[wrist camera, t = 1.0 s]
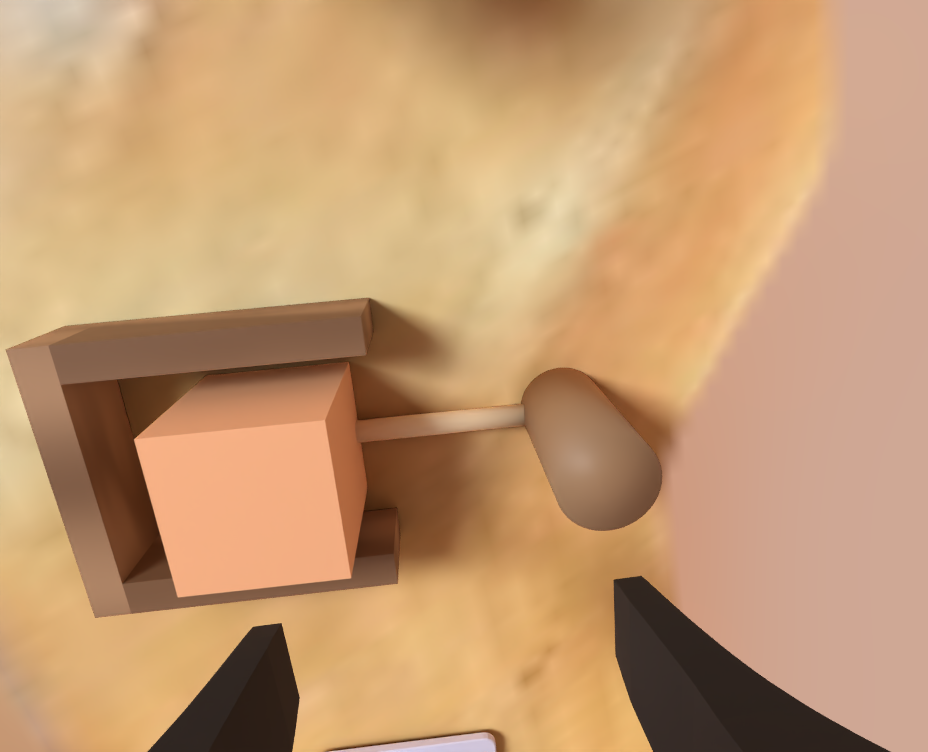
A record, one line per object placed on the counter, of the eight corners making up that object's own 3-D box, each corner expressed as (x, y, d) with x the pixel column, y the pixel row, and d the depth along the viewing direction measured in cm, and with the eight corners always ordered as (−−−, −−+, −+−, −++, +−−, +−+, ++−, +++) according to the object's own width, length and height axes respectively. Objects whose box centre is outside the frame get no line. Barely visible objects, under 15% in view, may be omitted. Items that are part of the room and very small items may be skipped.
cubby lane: (400, 534, 23) (397, 583, 20) (135, 563, 23) (95, 617, 20) (369, 297, 20) (360, 316, 18) (64, 326, 20) (5, 349, 17)
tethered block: (600, 462, 23) (660, 554, 17) (234, 501, 22) (170, 609, 17) (599, 337, 21) (664, 393, 16) (206, 375, 21) (124, 447, 15)
